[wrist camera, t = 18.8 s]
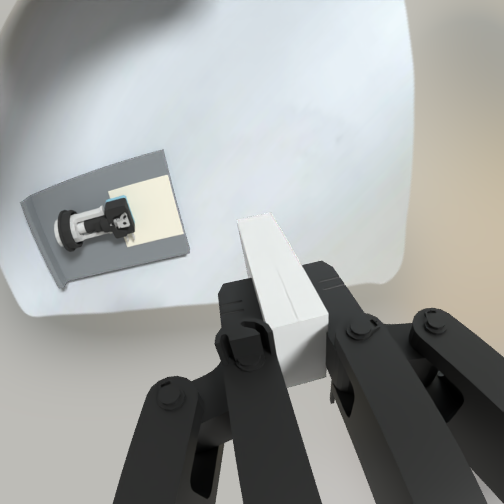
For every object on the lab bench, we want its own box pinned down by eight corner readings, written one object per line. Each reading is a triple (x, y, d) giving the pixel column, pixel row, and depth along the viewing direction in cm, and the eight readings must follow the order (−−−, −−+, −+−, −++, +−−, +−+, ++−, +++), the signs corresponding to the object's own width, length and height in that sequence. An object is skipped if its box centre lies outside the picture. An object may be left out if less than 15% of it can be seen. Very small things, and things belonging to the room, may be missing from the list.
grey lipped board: (29, 195, 31) (20, 202, 29) (163, 149, 33) (160, 153, 30) (65, 278, 38) (58, 288, 36) (189, 248, 40) (189, 259, 37)
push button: (139, 251, 34) (70, 268, 32) (138, 223, 38) (74, 240, 36) (123, 210, 29) (47, 232, 27) (125, 183, 33) (56, 204, 31)
